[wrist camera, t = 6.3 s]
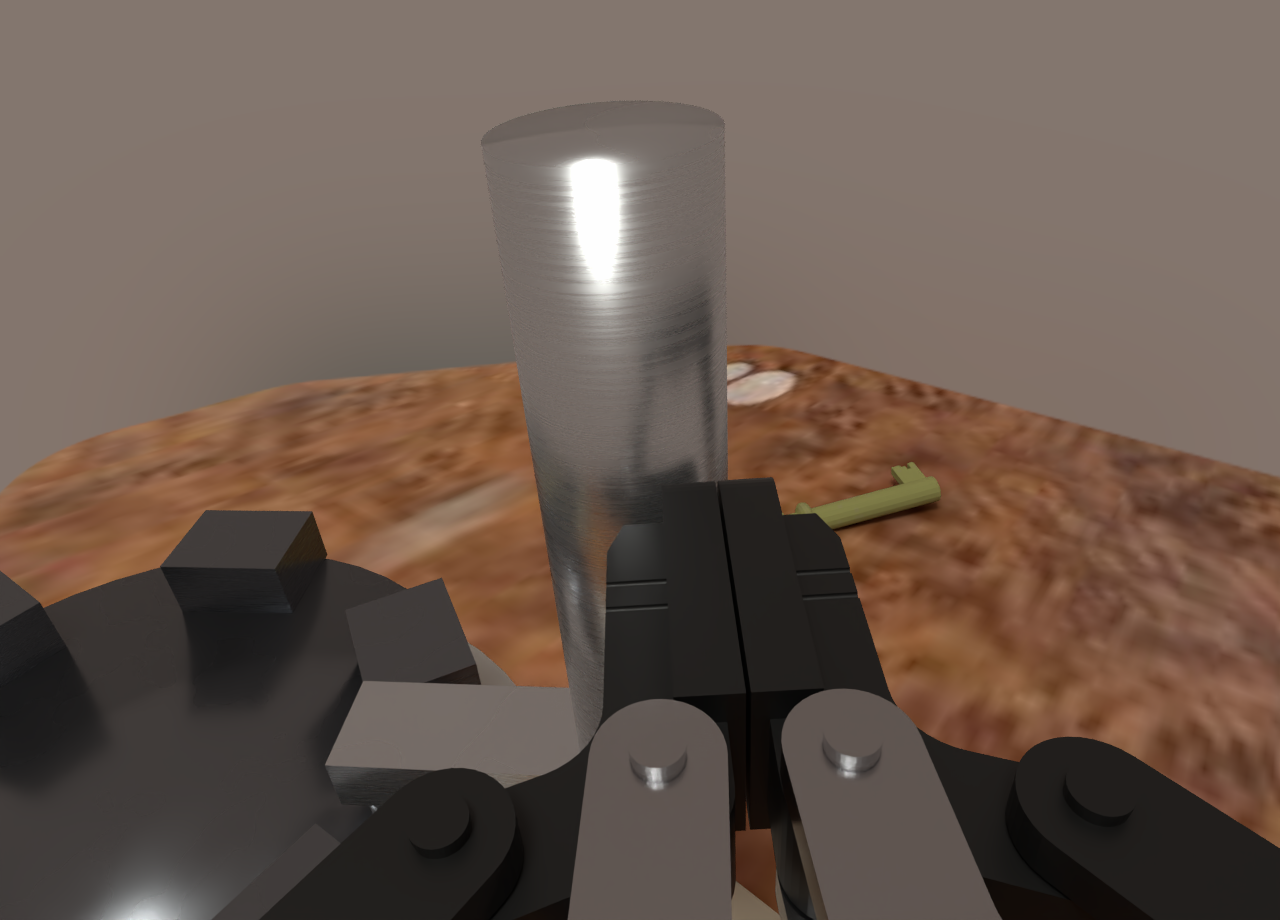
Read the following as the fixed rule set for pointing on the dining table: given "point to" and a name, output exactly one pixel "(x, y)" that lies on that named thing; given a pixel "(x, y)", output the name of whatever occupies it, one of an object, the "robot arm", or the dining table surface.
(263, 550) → the cap with crank handle
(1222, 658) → the dining table surface
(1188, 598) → the dining table surface
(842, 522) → the key
